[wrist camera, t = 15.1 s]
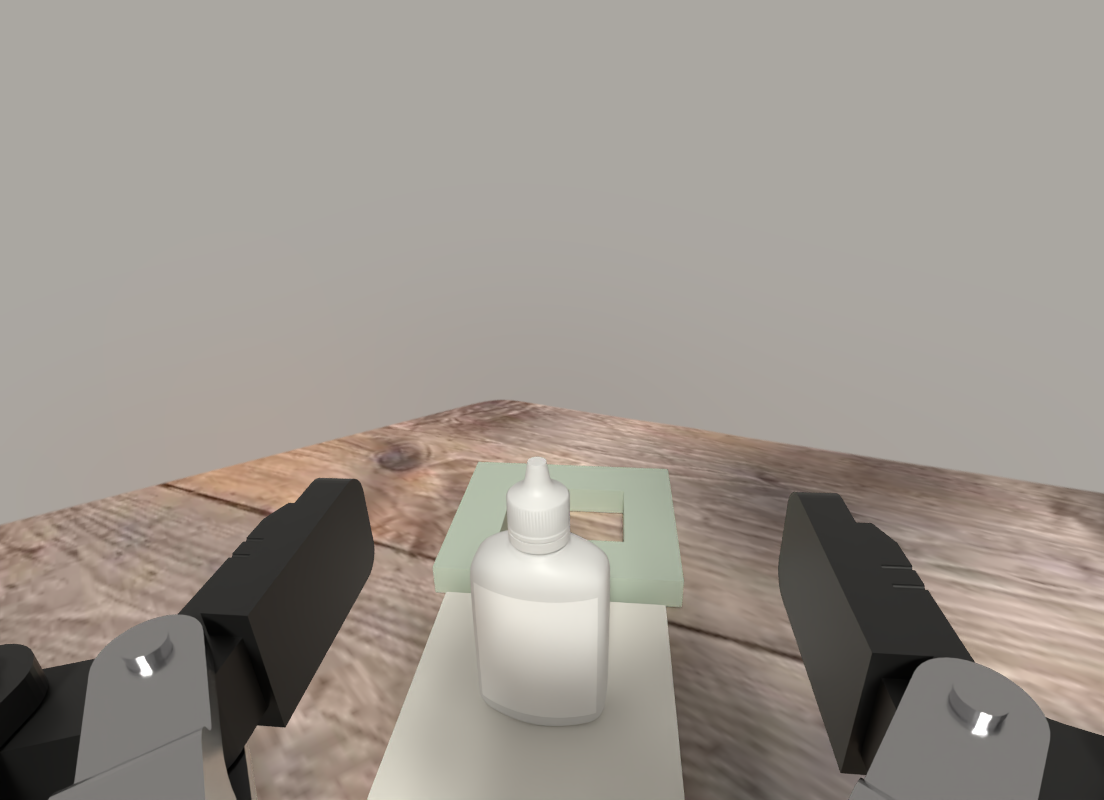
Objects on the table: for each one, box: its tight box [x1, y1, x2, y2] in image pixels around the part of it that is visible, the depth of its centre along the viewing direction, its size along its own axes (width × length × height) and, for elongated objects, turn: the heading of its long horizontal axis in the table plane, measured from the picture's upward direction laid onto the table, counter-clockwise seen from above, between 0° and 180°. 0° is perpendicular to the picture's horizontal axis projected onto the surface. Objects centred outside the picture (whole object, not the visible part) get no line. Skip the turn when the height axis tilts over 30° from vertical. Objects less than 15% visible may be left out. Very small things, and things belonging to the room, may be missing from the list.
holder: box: [433, 462, 684, 607], centre depth 39 cm, size 14×12×2 cm
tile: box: [367, 592, 685, 800], centre depth 27 cm, size 12×12×1 cm
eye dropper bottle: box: [470, 457, 610, 726], centre depth 24 cm, size 4×6×12 cm
